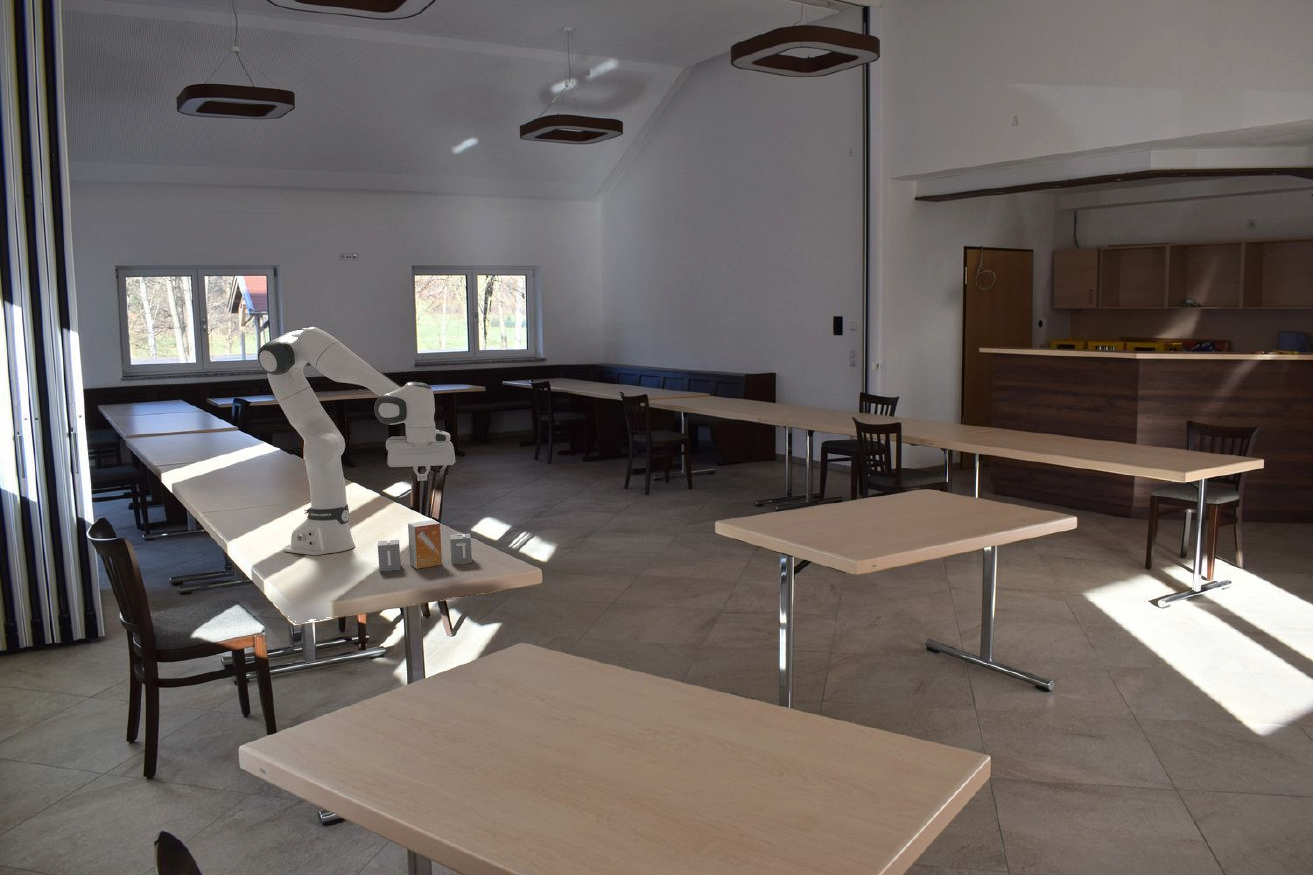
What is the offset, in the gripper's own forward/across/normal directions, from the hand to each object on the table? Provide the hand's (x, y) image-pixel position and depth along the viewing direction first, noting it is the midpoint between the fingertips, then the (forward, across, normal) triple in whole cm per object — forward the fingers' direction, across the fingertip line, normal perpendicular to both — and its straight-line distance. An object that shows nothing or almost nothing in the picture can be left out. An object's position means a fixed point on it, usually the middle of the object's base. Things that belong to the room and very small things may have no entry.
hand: (422, 480), depth 298 cm
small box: (+25, 0, -7) cm, 26 cm away
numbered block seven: (+25, +11, -6) cm, 28 cm away
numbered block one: (+25, -10, -7) cm, 28 cm away
